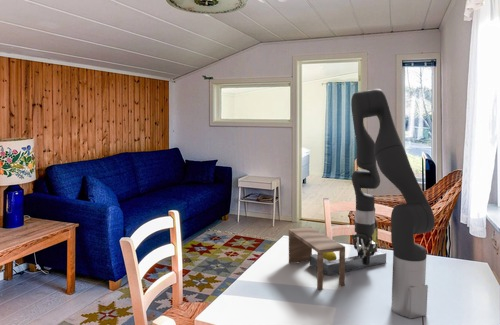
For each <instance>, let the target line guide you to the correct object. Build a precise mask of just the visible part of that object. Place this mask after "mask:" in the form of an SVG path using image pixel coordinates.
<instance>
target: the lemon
mask: <svg viewBox="0 0 500 325" xmlns="http://www.w3.org/2000/svg"><path fill="white" fill-rule="evenodd" d="M323 258H324V259H326V260H328V261H333V260H337V255H336V253H335V252H328V253H323Z"/></svg>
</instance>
